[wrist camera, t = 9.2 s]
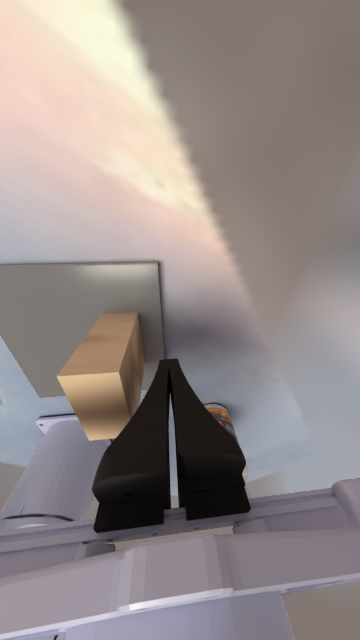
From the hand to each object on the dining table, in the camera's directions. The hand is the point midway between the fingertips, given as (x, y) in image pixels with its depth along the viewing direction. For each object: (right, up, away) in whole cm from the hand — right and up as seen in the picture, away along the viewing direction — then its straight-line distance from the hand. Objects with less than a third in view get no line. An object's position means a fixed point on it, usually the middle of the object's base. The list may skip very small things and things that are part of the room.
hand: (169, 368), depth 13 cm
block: (-4, +2, +3) cm, 6 cm away
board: (-8, +2, +4) cm, 9 cm away
